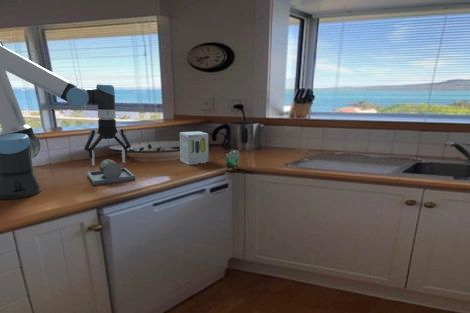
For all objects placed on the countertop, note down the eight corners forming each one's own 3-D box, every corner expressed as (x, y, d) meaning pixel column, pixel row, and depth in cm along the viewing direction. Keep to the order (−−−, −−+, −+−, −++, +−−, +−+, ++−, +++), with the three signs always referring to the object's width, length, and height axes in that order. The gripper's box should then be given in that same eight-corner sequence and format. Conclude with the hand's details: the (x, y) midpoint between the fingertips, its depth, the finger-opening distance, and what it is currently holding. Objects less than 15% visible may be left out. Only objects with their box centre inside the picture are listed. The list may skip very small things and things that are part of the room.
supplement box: (187, 165, 177) (187, 134, 173) (179, 160, 188) (179, 132, 184) (208, 162, 183) (208, 133, 180) (199, 158, 194) (199, 131, 191)
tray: (135, 179, 146) (134, 175, 145) (93, 185, 136) (93, 181, 136) (125, 171, 161) (125, 167, 160) (87, 175, 151) (87, 172, 151)
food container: (237, 172, 161) (237, 154, 159) (225, 172, 163) (225, 153, 161) (241, 167, 173) (241, 149, 171) (230, 166, 174) (231, 149, 172)
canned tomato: (118, 160, 142) (113, 156, 152) (101, 166, 139) (96, 162, 148) (124, 176, 145) (118, 171, 154) (107, 182, 141) (102, 177, 151)
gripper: (77, 119, 133) (80, 167, 137) (136, 119, 146) (137, 162, 150) (75, 118, 139) (78, 164, 143) (132, 117, 152) (133, 159, 157)
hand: (108, 163), depth 147 cm, fingers open, 13 cm apart
